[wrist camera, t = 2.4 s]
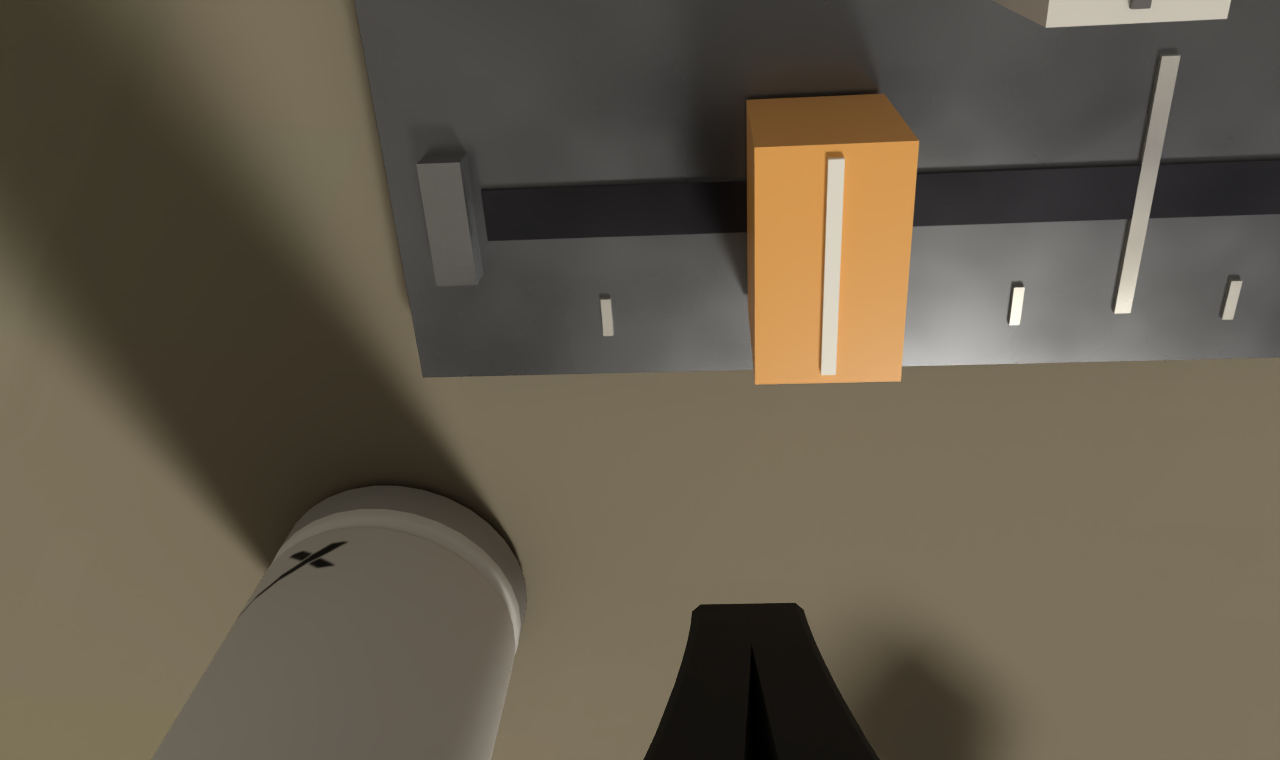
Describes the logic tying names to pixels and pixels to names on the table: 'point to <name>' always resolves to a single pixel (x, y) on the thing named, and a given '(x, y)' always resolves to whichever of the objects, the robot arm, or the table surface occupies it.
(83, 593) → the table surface
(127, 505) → the table surface
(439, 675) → the travel mug
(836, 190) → the orange fader
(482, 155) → the fader console
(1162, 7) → the grey fader
